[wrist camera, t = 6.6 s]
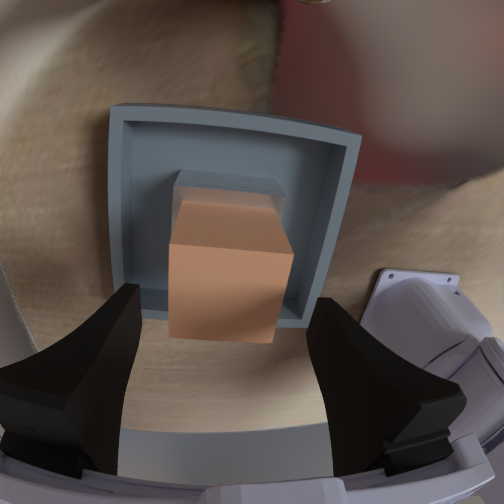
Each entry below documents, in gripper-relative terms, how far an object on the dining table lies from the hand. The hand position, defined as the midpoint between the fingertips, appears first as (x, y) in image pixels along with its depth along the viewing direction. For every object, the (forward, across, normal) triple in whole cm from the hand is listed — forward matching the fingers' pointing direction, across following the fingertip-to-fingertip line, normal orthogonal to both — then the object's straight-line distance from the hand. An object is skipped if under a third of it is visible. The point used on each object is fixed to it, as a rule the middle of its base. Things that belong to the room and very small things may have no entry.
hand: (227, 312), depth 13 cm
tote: (+10, 0, 0) cm, 10 cm away
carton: (+6, 0, 0) cm, 6 cm away
